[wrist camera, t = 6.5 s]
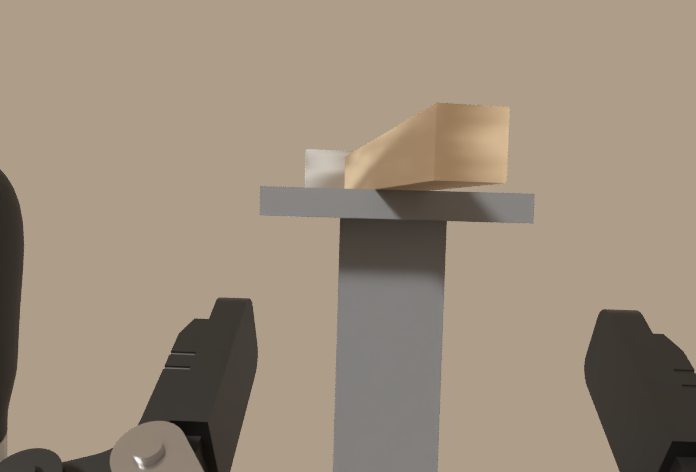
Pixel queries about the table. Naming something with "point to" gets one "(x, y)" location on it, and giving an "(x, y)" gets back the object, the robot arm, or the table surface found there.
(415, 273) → the stand
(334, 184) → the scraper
